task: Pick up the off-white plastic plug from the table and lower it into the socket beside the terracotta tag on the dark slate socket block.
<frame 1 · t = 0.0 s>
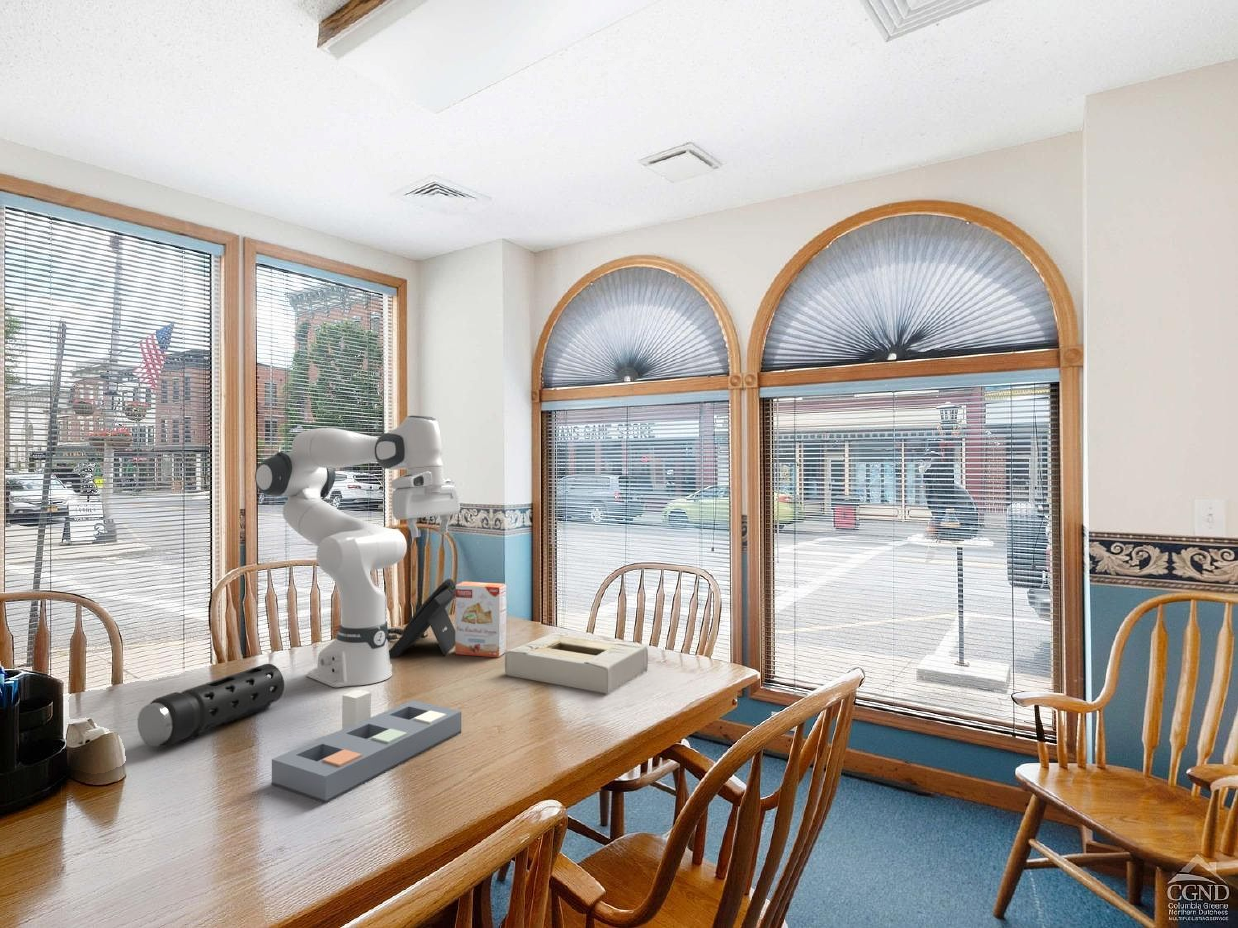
hand: (430, 535, 171), 39 cm above the table, tool pointing down, fingers open, 8 cm apart
box: (577, 674, 187), on the table
cracker box: (480, 654, 204), on the table
muzzle brake: (215, 729, 148), on the table
socket block: (374, 756, 134), on the table
office phone: (411, 645, 215), on the table
plug: (356, 731, 146), on the table
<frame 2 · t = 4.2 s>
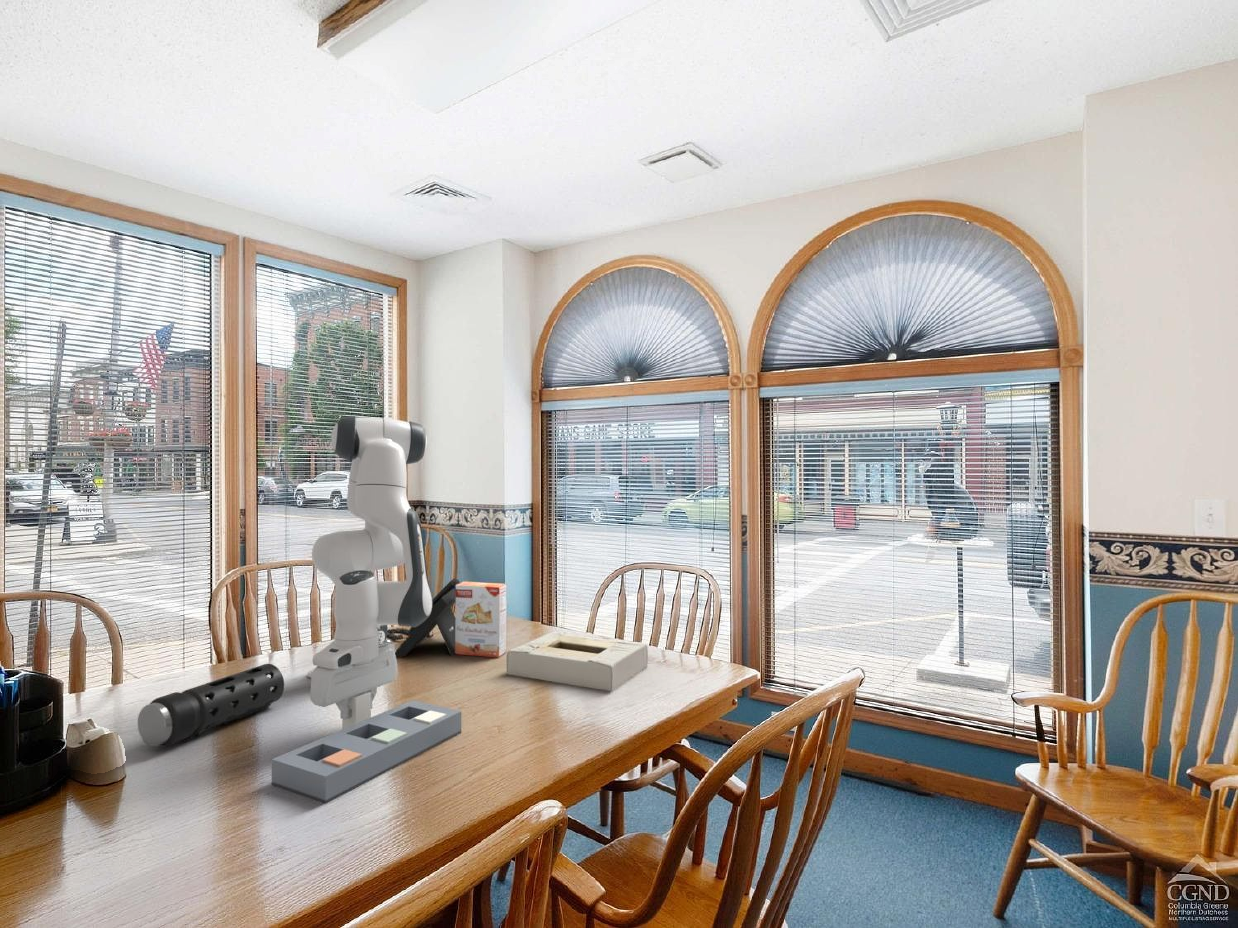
hand: (356, 713, 146), 4 cm above the table, tool pointing down, fingers closed on plug, 4 cm apart
box: (578, 672, 189), on the table
office phone: (417, 645, 215), on the table
plug: (356, 731, 146), on the table, touching gripper
everything else where it was.
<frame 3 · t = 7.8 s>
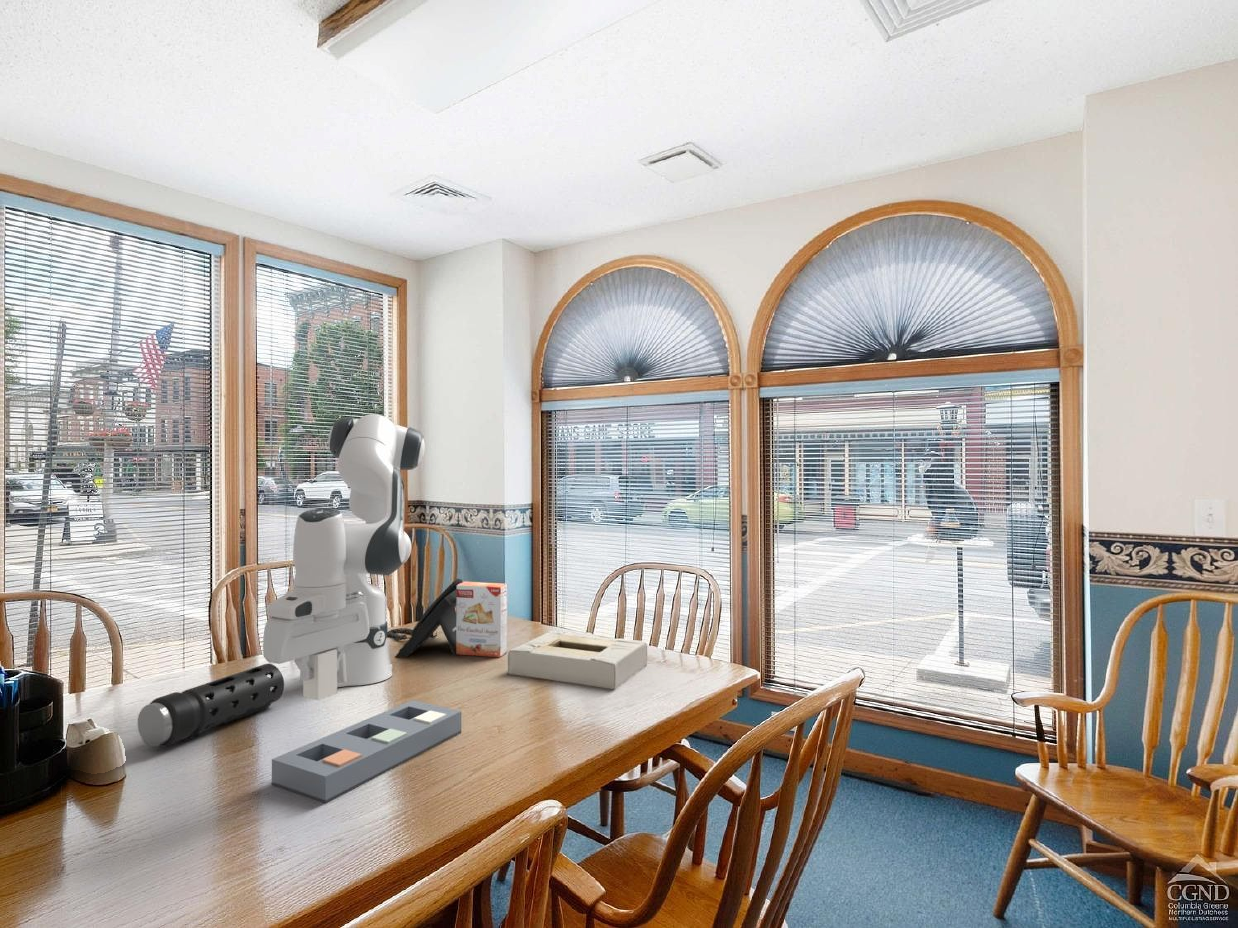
hand: (320, 675, 125), 19 cm above the table, tool pointing down, fingers closed on plug, 4 cm apart
box: (578, 671, 190), on the table
office phone: (420, 645, 215), on the table
plug: (320, 694, 125), point 15 cm above the table, touching gripper
everything else where it was.
when the fingers open (6 cm above the table, at t = 11.4 s): plug drops 1 cm, resting on socket block.
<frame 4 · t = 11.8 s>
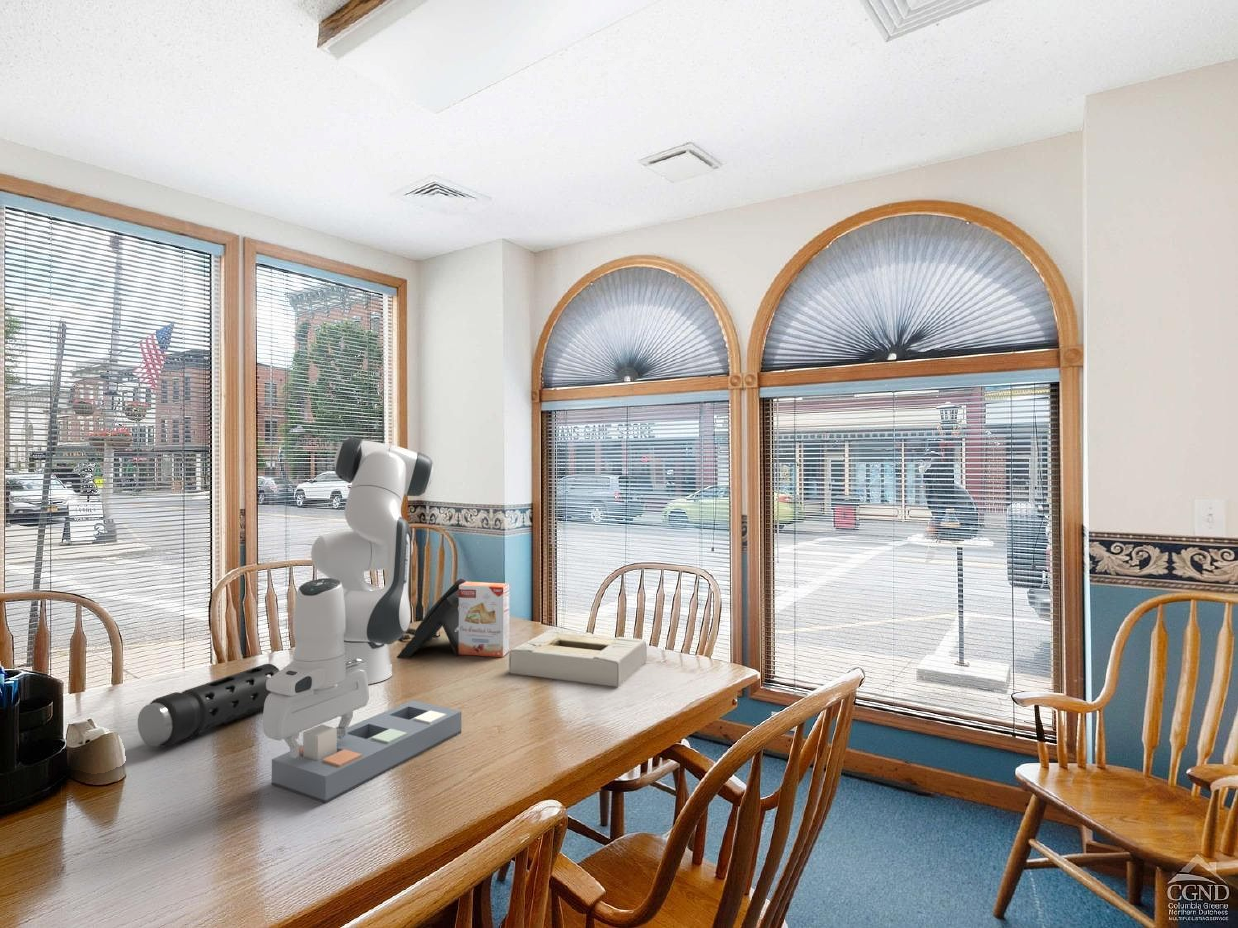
hand: (319, 746, 125), 6 cm above the table, tool pointing down, fingers open, 8 cm apart
box: (579, 670, 191), on the table
plug: (319, 774, 125), resting on socket block
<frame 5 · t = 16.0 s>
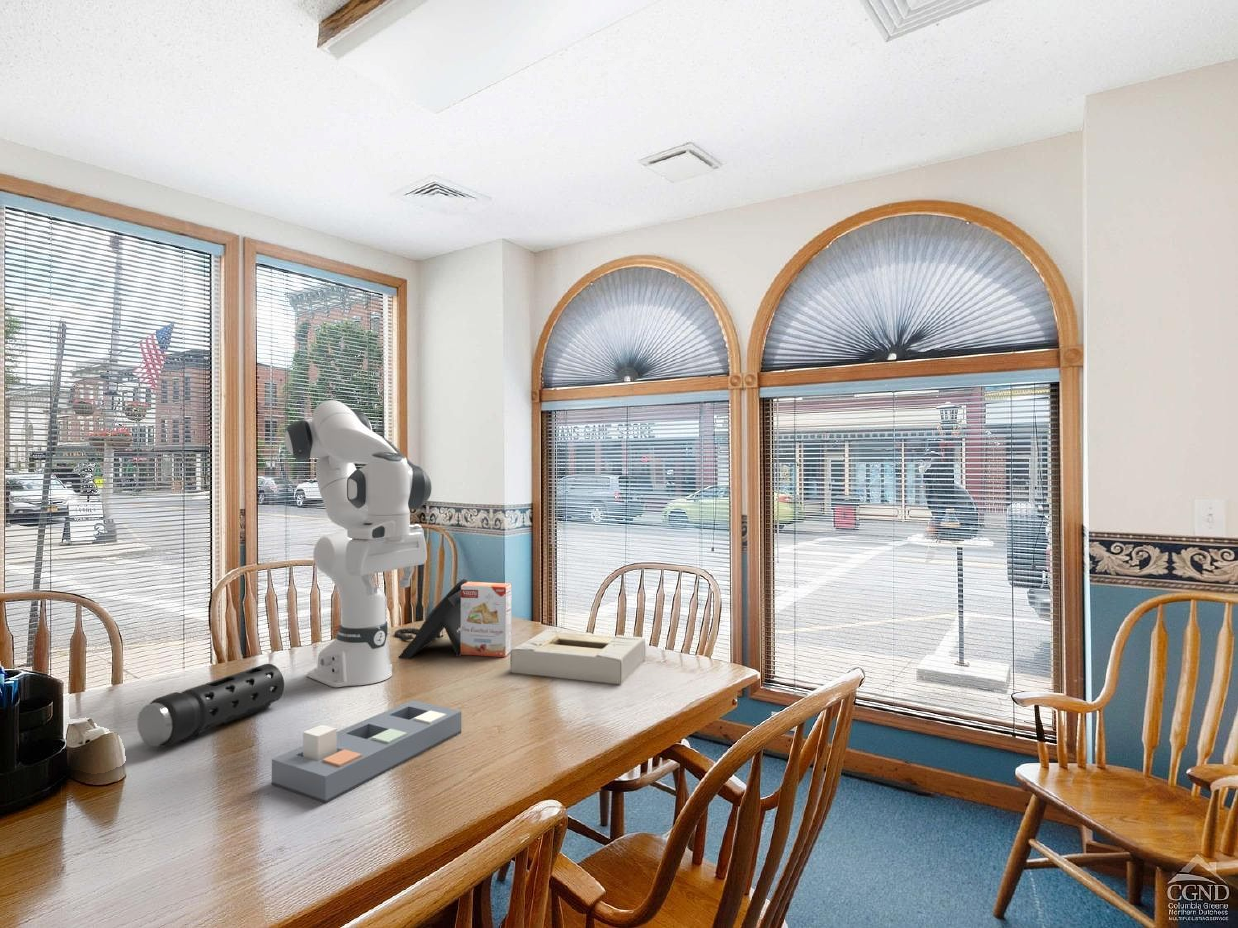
hand: (388, 590, 150), 29 cm above the table, tool pointing down, fingers open, 8 cm apart
box: (579, 668, 193), on the table
at the end: plug 0.0 cm from the target spot on the socket block, point 0.5 cm above the socket block's base; plug tilted 0°; the gripper is holding nothing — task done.
